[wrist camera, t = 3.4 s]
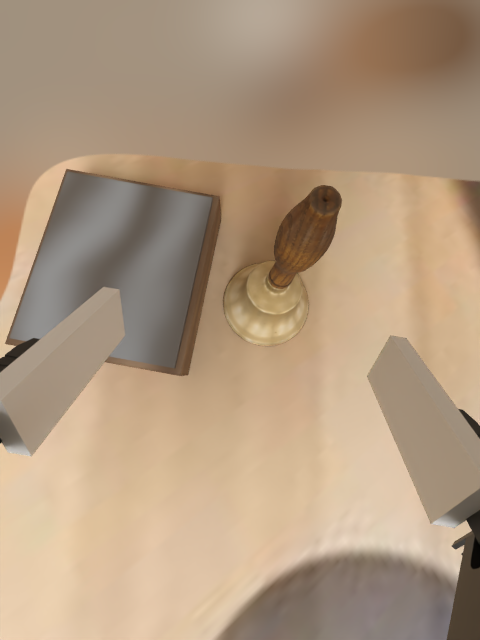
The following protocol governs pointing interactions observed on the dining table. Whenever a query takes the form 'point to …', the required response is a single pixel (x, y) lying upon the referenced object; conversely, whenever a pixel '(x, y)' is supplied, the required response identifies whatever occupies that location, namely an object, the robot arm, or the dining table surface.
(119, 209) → the walnut stand
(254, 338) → the hand bell
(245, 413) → the dining table surface
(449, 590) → the dining table surface
